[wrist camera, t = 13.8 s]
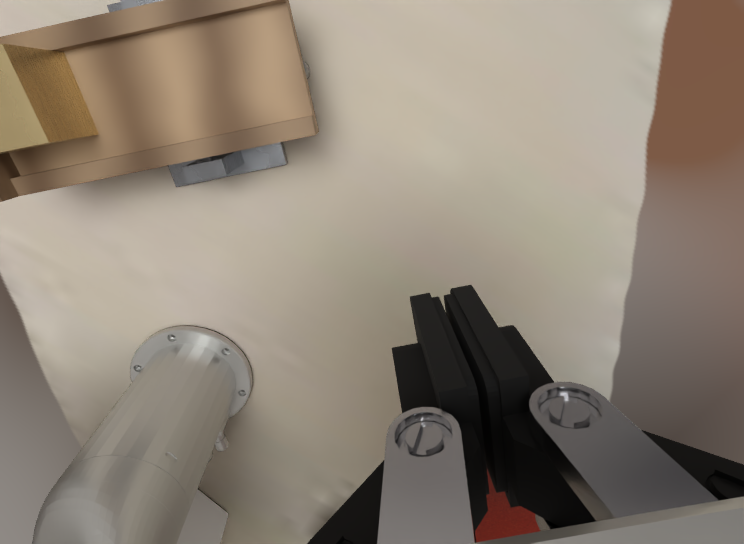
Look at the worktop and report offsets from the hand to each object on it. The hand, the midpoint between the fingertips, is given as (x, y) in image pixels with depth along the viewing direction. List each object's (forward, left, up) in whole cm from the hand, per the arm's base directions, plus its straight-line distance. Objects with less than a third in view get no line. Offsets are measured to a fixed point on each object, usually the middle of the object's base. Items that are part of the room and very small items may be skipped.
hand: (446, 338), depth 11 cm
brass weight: (+10, +21, -21) cm, 31 cm away
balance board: (+9, +15, -22) cm, 28 cm away
